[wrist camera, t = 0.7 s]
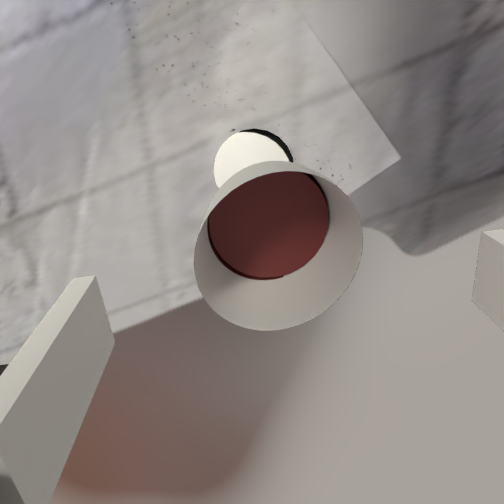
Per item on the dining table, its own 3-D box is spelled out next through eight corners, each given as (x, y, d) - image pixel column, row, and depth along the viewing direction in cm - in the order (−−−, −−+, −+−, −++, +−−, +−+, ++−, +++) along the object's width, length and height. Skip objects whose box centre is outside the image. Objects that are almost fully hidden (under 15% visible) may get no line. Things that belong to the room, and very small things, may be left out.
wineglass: (316, 157, 42) (398, 234, 22) (259, 229, 45) (286, 355, 24) (247, 103, 39) (268, 132, 19) (192, 182, 42) (160, 280, 22)
